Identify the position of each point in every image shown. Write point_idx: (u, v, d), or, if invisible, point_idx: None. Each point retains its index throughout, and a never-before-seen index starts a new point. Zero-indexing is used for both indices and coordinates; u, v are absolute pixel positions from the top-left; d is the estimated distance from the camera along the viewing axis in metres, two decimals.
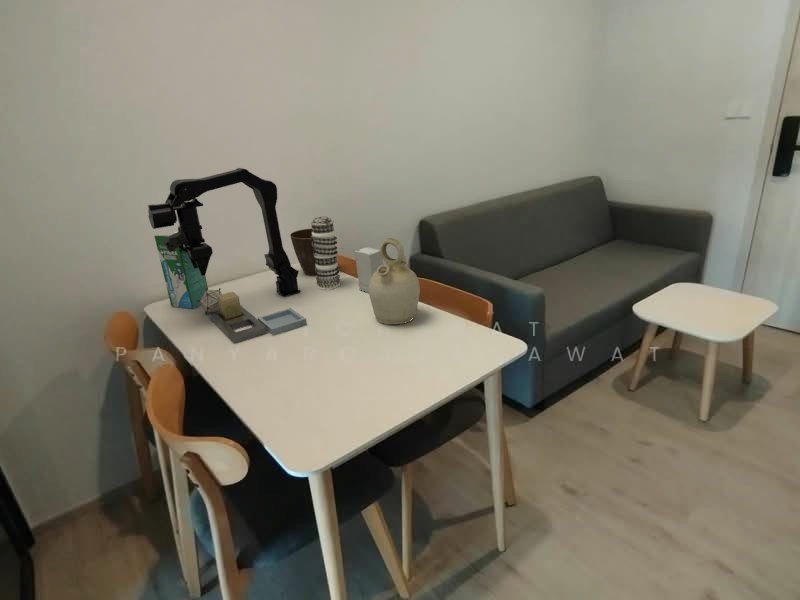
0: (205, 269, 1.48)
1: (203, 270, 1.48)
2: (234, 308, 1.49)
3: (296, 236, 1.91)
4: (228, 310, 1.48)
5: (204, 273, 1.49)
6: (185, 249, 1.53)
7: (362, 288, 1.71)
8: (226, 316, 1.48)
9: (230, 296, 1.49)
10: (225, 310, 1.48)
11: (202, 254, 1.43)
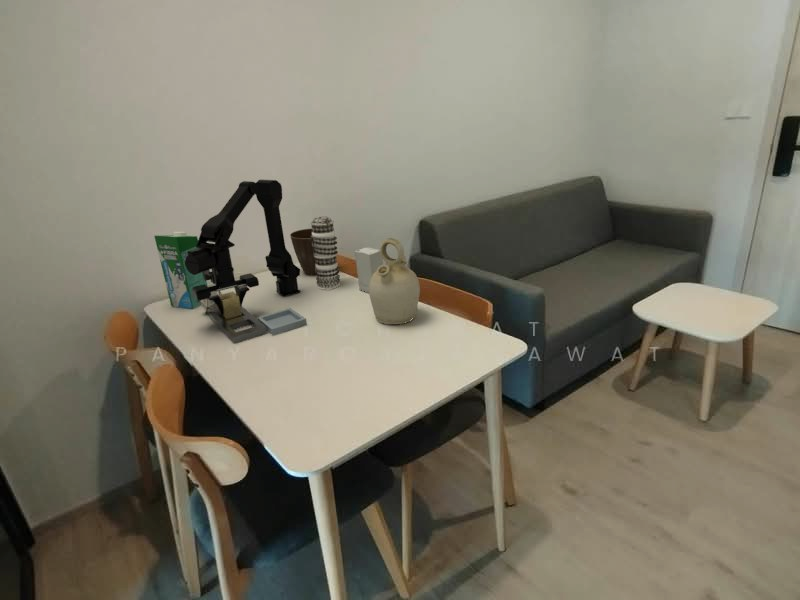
0: (219, 310, 1.48)
1: (219, 309, 1.49)
2: (234, 307, 1.49)
3: (296, 236, 1.91)
4: (228, 310, 1.48)
5: (221, 313, 1.49)
6: (235, 288, 1.52)
7: (362, 288, 1.71)
8: (226, 316, 1.48)
9: (230, 296, 1.49)
10: (225, 310, 1.48)
11: (195, 296, 1.43)
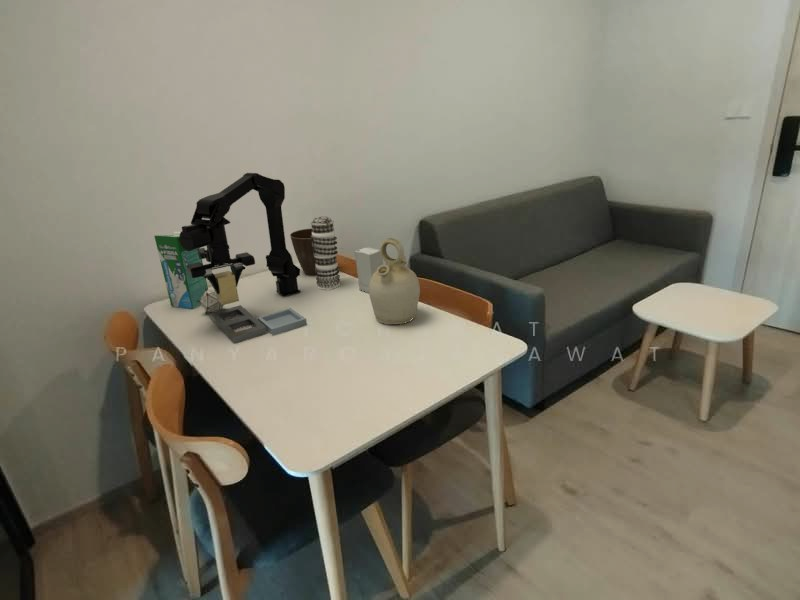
0: (214, 288, 1.46)
1: (214, 288, 1.46)
2: (229, 286, 1.46)
3: (296, 236, 1.91)
4: (224, 289, 1.46)
5: (216, 292, 1.47)
6: (231, 267, 1.49)
7: (362, 288, 1.71)
8: (221, 295, 1.46)
9: (226, 275, 1.46)
10: (220, 289, 1.45)
11: (189, 274, 1.41)
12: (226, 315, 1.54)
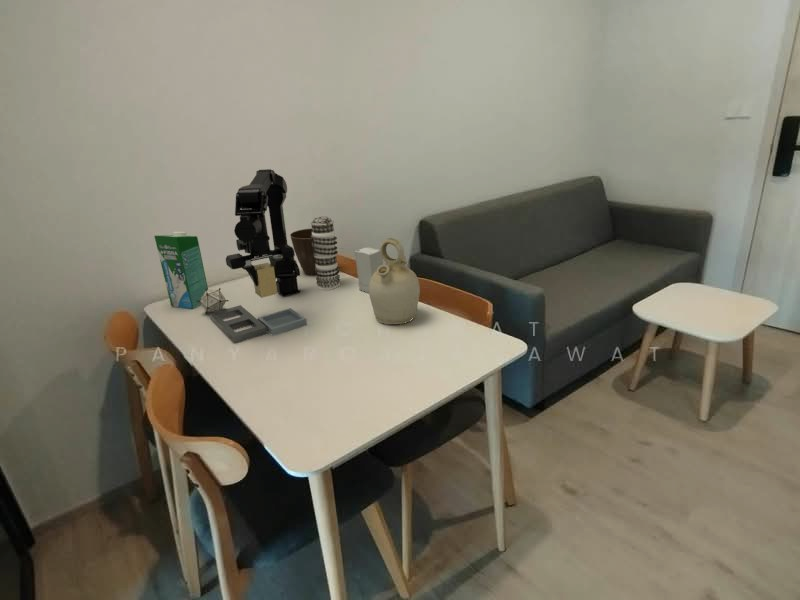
0: (253, 281, 1.41)
1: (253, 280, 1.42)
2: (268, 279, 1.42)
3: (296, 236, 1.91)
4: (263, 281, 1.41)
5: (255, 284, 1.42)
6: (270, 259, 1.45)
7: (362, 288, 1.71)
8: (260, 287, 1.41)
9: (265, 267, 1.41)
10: (259, 281, 1.41)
11: (229, 265, 1.37)
12: (226, 315, 1.54)
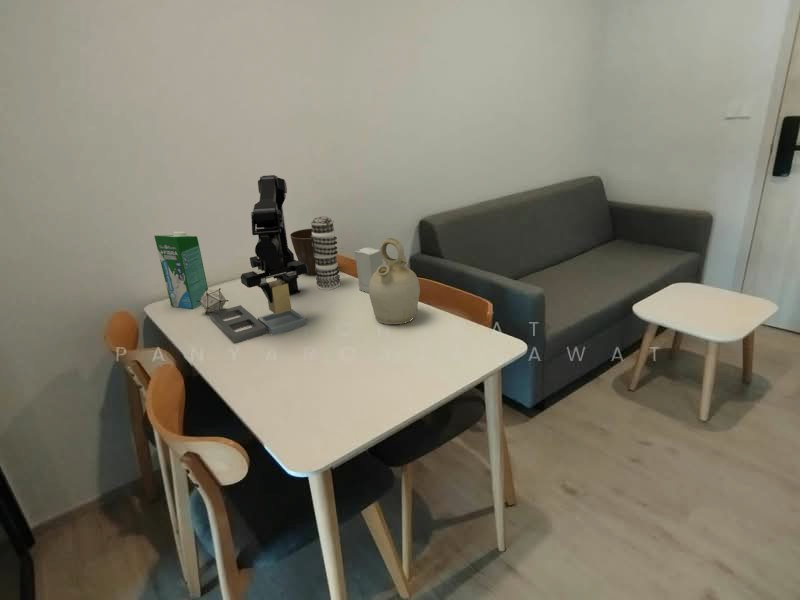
0: (268, 298, 1.43)
1: (267, 298, 1.43)
2: (283, 295, 1.43)
3: (296, 236, 1.91)
4: (277, 298, 1.43)
5: (269, 301, 1.44)
6: (283, 275, 1.46)
7: (362, 288, 1.71)
8: (275, 304, 1.43)
9: (279, 284, 1.43)
10: (274, 298, 1.42)
11: (244, 283, 1.38)
12: (226, 315, 1.54)
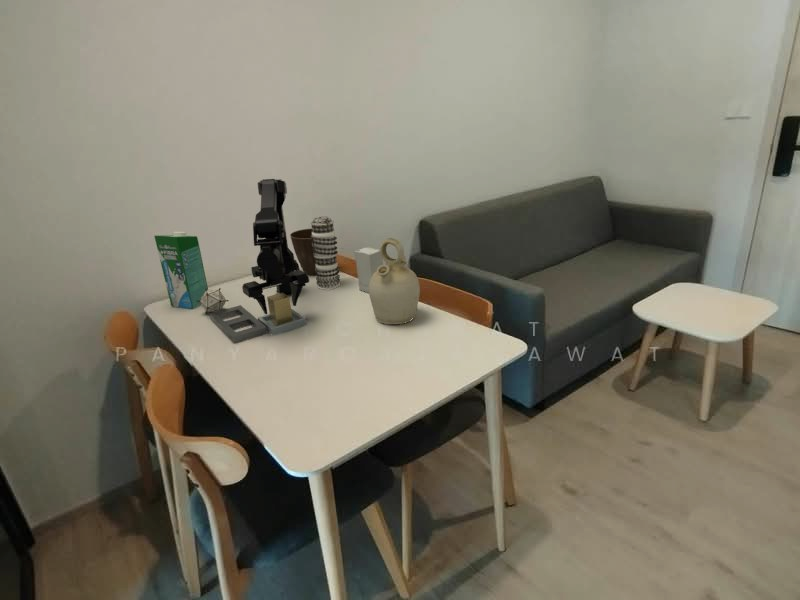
0: (263, 309, 1.43)
1: (262, 309, 1.43)
2: (284, 309, 1.45)
3: (296, 236, 1.91)
4: (279, 312, 1.44)
5: (264, 312, 1.44)
6: (290, 283, 1.49)
7: (362, 288, 1.71)
8: (277, 318, 1.44)
9: (281, 297, 1.44)
10: (276, 311, 1.44)
11: (246, 293, 1.39)
12: (226, 315, 1.54)
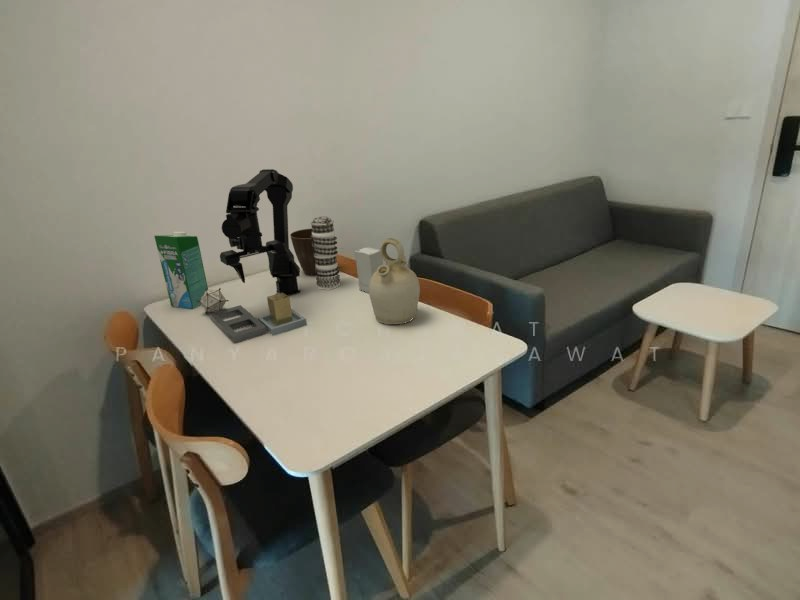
0: (241, 277, 1.46)
1: (240, 277, 1.46)
2: (284, 309, 1.45)
3: (296, 236, 1.91)
4: (279, 312, 1.44)
5: (242, 281, 1.47)
6: (267, 253, 1.52)
7: (362, 288, 1.71)
8: (277, 318, 1.44)
9: (281, 297, 1.44)
10: (276, 311, 1.44)
11: (223, 262, 1.42)
12: (226, 315, 1.54)
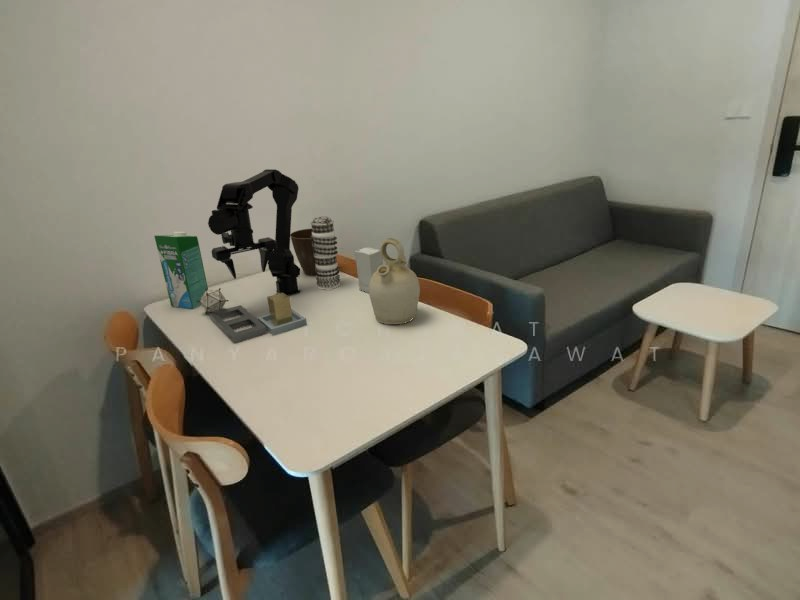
0: (232, 273, 1.48)
1: (231, 273, 1.49)
2: (284, 309, 1.45)
3: (296, 236, 1.91)
4: (279, 312, 1.44)
5: (233, 277, 1.50)
6: (259, 250, 1.54)
7: (362, 288, 1.71)
8: (277, 318, 1.44)
9: (281, 297, 1.44)
10: (276, 311, 1.44)
11: (214, 257, 1.45)
12: (226, 315, 1.54)
